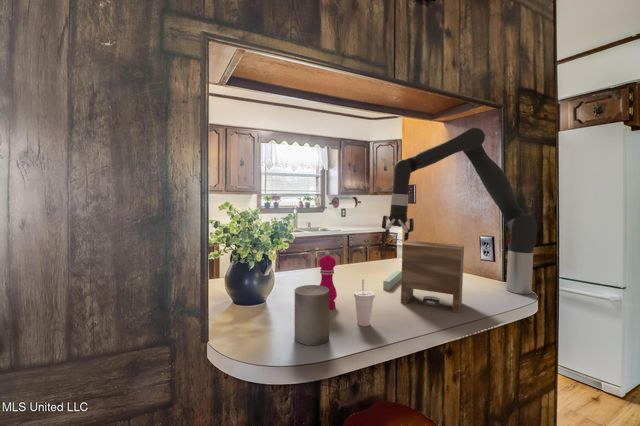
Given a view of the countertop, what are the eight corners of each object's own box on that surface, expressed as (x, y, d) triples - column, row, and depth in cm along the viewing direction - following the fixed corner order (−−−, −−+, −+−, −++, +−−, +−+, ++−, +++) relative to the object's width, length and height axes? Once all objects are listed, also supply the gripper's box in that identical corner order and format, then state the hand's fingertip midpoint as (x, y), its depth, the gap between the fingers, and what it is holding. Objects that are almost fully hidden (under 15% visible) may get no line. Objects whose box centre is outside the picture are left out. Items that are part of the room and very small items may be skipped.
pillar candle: (325, 330, 96) (326, 279, 96) (332, 344, 87) (332, 289, 86) (292, 332, 95) (292, 280, 94) (295, 347, 85) (295, 290, 85)
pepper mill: (315, 309, 113) (316, 252, 112) (316, 303, 120) (317, 249, 119) (336, 310, 113) (337, 253, 112) (336, 303, 120) (337, 249, 119)
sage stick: (396, 278, 160) (396, 270, 160) (401, 279, 159) (401, 271, 159) (383, 290, 140) (383, 280, 140) (388, 290, 139) (389, 281, 138)
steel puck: (424, 300, 127) (424, 295, 127) (440, 302, 124) (441, 297, 124) (421, 304, 122) (421, 299, 121) (438, 307, 119) (438, 302, 119)
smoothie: (349, 321, 103) (350, 277, 102) (366, 318, 106) (367, 275, 105) (359, 329, 97) (361, 282, 97) (378, 326, 100) (379, 280, 99)
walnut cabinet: (408, 294, 133) (409, 240, 132) (461, 303, 123) (464, 245, 122) (400, 302, 122) (402, 244, 121) (458, 312, 113) (461, 249, 112)
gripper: (417, 205, 149) (414, 240, 150) (387, 203, 156) (384, 236, 157) (412, 205, 142) (409, 242, 143) (381, 203, 150) (378, 238, 151)
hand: (396, 239), depth 150 cm, fingers open, 8 cm apart
